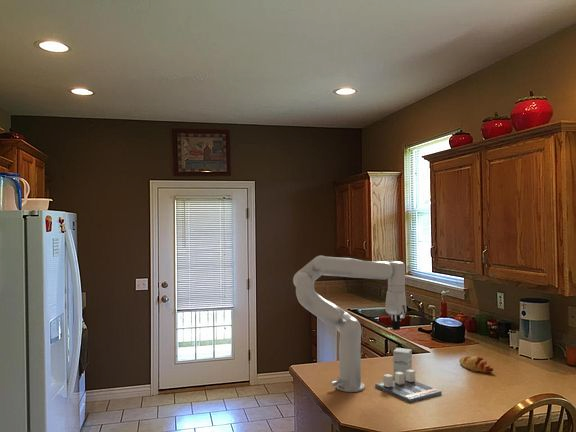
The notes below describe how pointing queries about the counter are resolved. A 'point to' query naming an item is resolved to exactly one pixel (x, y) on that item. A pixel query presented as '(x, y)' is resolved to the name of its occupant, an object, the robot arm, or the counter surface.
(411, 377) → the block
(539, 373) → the counter surface
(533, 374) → the counter surface
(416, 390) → the panel
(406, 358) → the supplement box
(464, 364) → the croissant
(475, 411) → the counter surface
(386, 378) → the block
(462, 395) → the counter surface
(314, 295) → the robot arm
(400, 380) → the block
